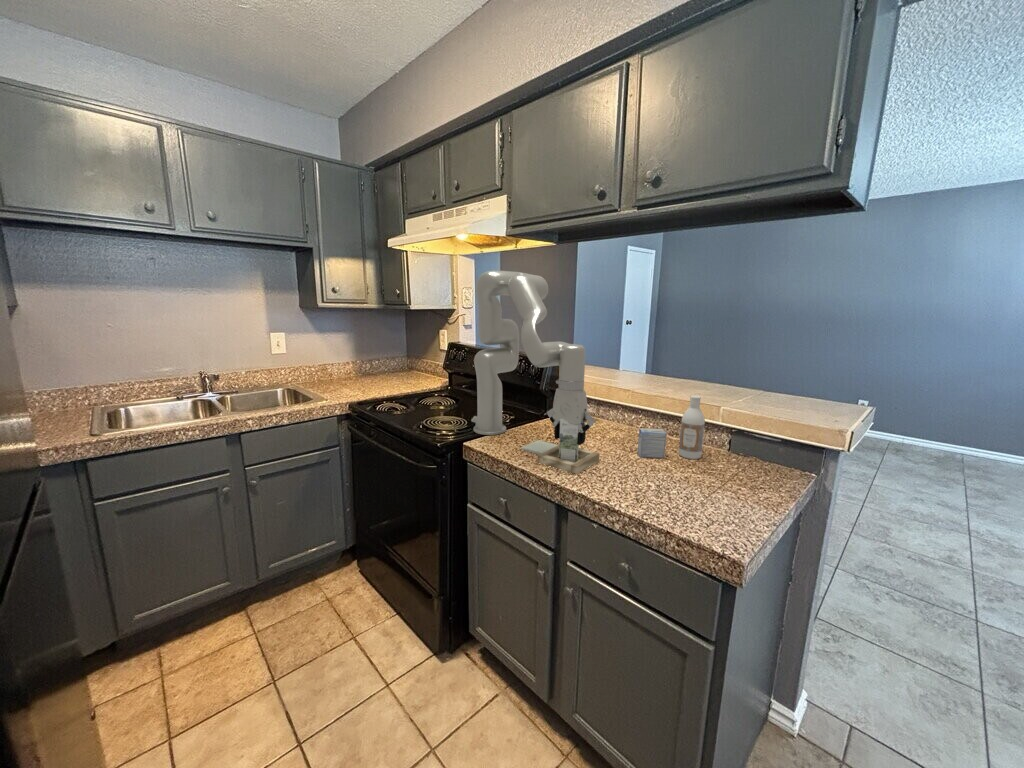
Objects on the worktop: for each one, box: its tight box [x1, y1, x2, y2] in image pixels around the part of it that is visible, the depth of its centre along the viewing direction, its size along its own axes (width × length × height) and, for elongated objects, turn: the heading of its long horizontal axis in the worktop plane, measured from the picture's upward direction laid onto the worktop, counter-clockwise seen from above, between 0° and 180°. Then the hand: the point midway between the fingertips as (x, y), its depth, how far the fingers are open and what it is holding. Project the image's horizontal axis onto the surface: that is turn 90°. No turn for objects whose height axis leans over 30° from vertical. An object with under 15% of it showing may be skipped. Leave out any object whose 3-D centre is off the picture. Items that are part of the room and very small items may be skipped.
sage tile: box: [520, 439, 559, 455], centre depth 142 cm, size 10×10×1 cm
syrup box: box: [558, 419, 580, 463], centre depth 130 cm, size 6×6×14 cm
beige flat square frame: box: [537, 444, 600, 475], centre depth 131 cm, size 14×14×2 cm
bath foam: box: [678, 395, 706, 460], centre depth 136 cm, size 7×7×20 cm
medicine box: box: [637, 427, 668, 459], centre depth 137 cm, size 8×4×9 cm, turn 84°
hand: (569, 440), depth 130 cm, fingers closed on syrup box, 7 cm apart
